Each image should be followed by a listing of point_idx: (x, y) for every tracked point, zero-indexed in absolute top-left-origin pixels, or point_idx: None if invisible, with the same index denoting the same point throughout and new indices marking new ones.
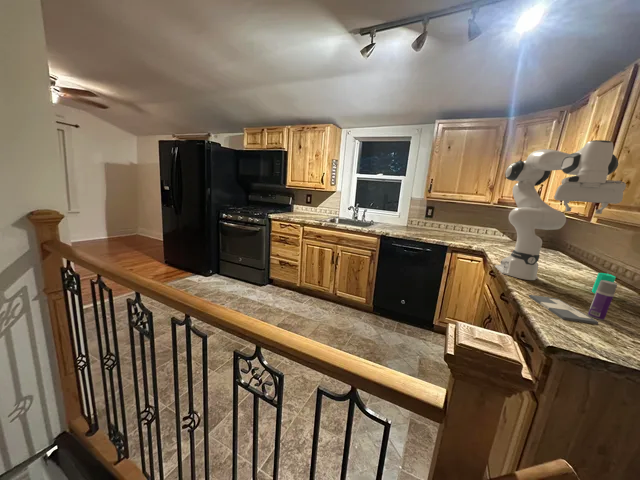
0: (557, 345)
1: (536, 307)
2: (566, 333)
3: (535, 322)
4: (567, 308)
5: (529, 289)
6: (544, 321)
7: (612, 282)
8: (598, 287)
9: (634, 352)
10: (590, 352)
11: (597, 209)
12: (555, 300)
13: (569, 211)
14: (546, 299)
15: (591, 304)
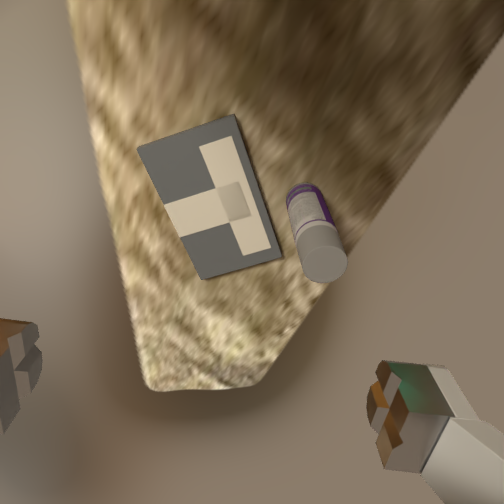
0: (160, 388)
1: (151, 236)
2: (188, 340)
3: (137, 329)
4: (232, 209)
5: (151, 27)
6: (156, 313)
7: (340, 256)
8: (298, 249)
9: (286, 343)
10: (206, 381)
11: (386, 456)
12: (216, 151)
13: (31, 343)
14: (188, 161)
15: (290, 213)
